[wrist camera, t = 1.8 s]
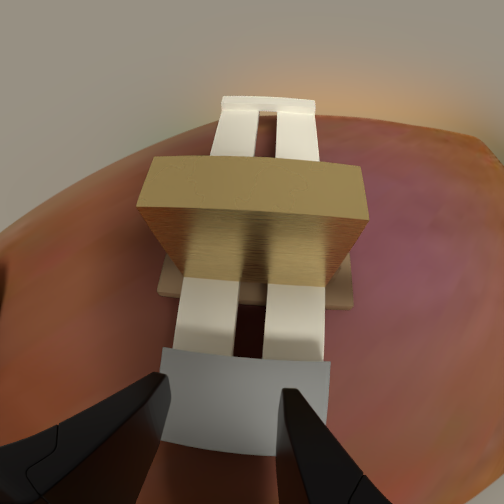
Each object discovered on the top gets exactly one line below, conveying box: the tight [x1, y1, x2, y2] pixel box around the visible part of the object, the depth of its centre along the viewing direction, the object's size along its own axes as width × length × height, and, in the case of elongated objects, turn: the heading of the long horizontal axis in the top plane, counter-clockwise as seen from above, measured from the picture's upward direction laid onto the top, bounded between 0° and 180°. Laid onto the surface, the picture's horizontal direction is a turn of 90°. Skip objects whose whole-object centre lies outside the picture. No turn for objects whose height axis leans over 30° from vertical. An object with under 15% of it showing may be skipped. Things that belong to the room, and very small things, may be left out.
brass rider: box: [136, 156, 369, 287], centre depth 17 cm, size 8×10×10 cm
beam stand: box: [157, 252, 354, 310], centre depth 22 cm, size 6×16×4 cm, turn 85°
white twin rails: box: [160, 96, 330, 456], centre depth 21 cm, size 32×10×3 cm, turn 175°
